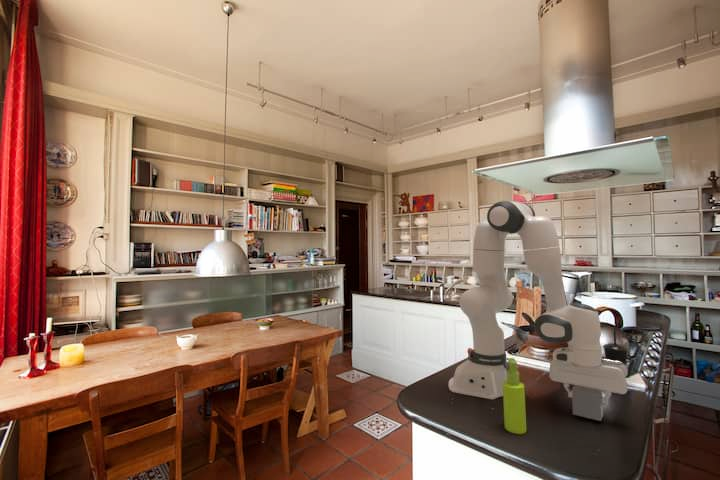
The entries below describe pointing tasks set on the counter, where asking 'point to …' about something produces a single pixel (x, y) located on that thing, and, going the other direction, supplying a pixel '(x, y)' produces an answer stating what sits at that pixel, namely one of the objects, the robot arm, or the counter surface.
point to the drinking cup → (615, 351)
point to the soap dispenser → (514, 401)
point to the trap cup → (587, 402)
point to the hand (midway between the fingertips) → (587, 400)
